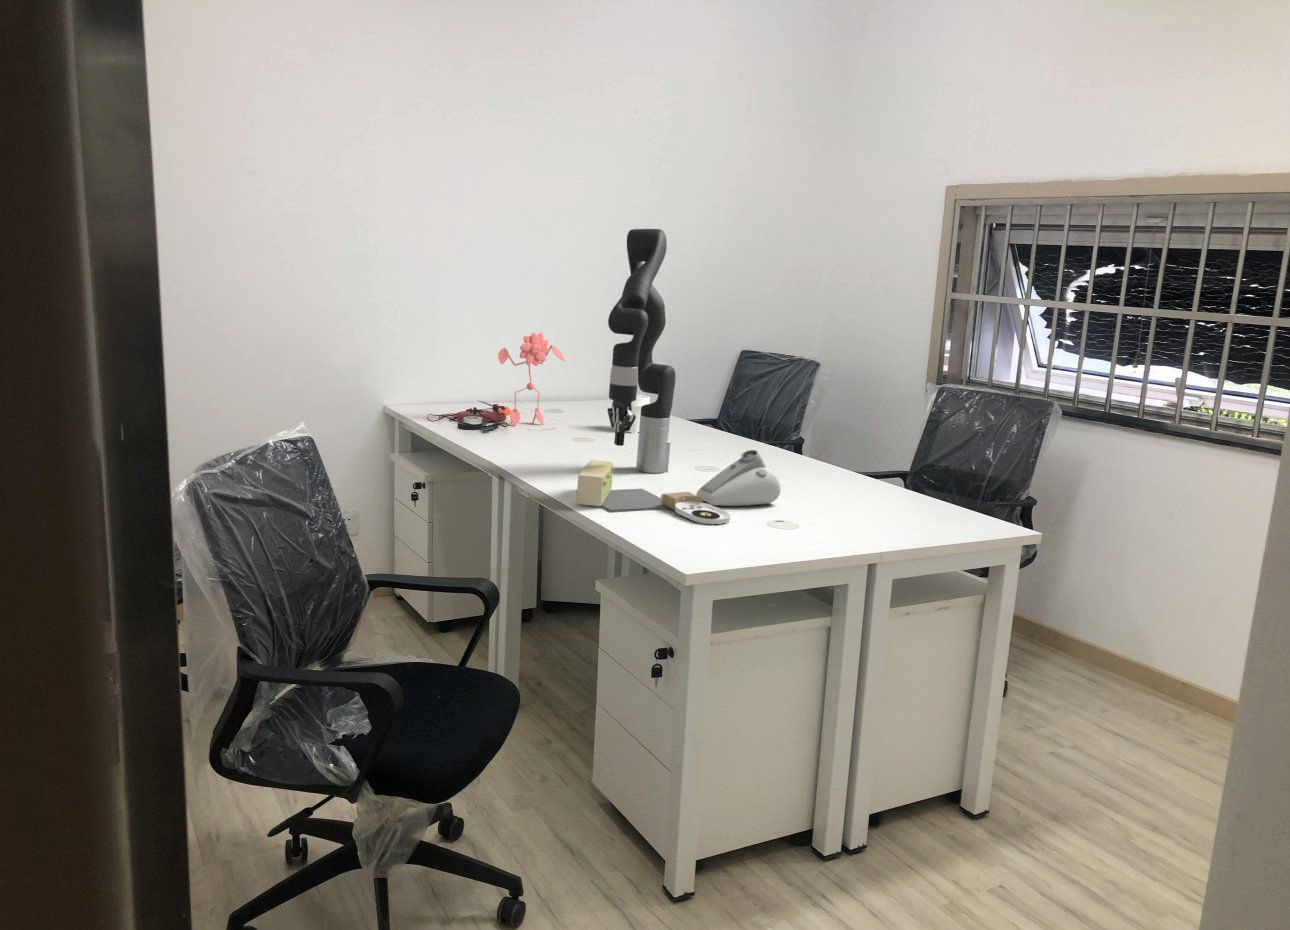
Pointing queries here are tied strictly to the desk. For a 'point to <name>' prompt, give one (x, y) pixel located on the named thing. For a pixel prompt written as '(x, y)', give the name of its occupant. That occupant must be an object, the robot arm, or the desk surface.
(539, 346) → the figurine
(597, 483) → the toy refrigerator
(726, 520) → the record player
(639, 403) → the cup
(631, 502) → the mat
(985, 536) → the desk surface
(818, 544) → the desk surface
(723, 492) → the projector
